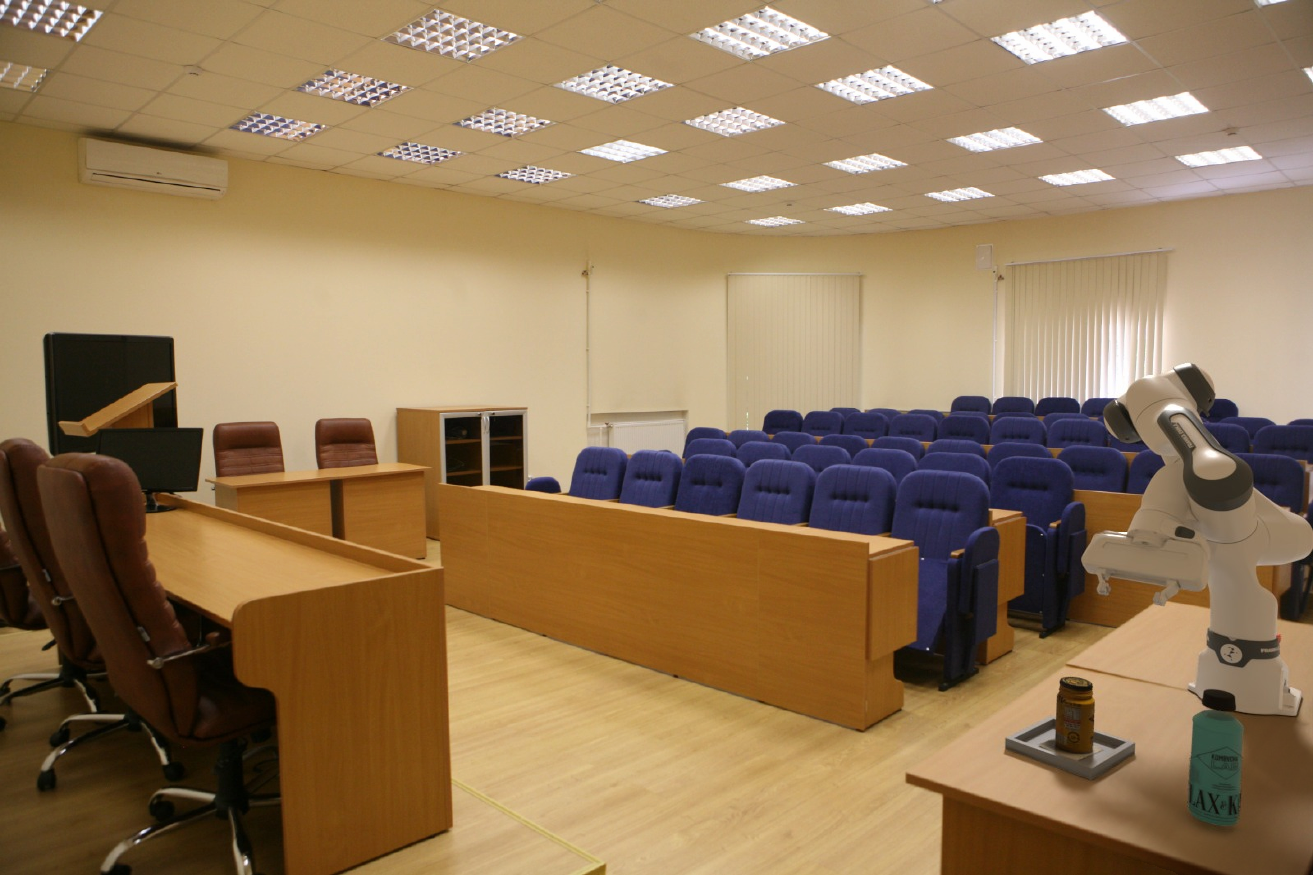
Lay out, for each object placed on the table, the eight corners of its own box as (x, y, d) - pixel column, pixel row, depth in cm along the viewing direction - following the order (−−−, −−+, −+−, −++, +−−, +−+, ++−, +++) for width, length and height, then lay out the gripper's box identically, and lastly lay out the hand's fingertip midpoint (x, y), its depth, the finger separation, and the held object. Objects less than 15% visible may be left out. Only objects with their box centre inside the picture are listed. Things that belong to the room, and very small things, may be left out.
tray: (1050, 726, 158) (1050, 715, 158) (1134, 753, 146) (1135, 742, 146) (1005, 748, 148) (1005, 737, 148) (1091, 780, 136) (1091, 768, 136)
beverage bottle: (1176, 814, 125) (1181, 684, 124) (1217, 812, 126) (1222, 683, 124) (1208, 838, 119) (1213, 701, 117) (1252, 836, 119) (1257, 699, 118)
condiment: (1104, 749, 146) (1106, 683, 145) (1077, 762, 141) (1078, 693, 141) (1064, 735, 152) (1066, 671, 151) (1037, 746, 148) (1038, 680, 147)
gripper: (1091, 519, 160) (1065, 577, 154) (1212, 534, 144) (1187, 599, 138) (1101, 539, 163) (1076, 596, 157) (1221, 556, 147) (1197, 620, 141)
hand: (1129, 598), depth 148 cm, fingers open, 8 cm apart
